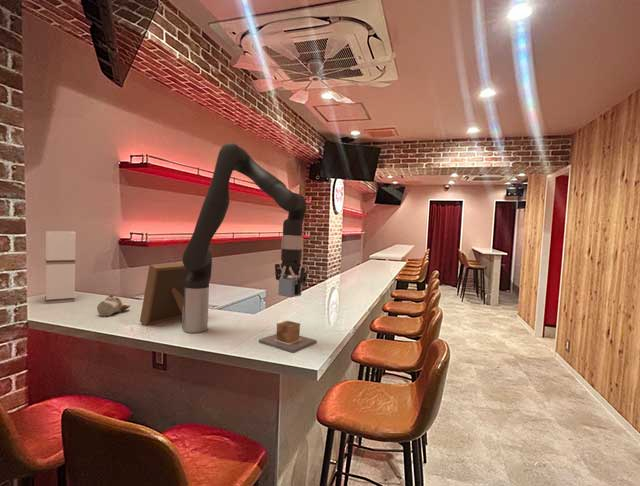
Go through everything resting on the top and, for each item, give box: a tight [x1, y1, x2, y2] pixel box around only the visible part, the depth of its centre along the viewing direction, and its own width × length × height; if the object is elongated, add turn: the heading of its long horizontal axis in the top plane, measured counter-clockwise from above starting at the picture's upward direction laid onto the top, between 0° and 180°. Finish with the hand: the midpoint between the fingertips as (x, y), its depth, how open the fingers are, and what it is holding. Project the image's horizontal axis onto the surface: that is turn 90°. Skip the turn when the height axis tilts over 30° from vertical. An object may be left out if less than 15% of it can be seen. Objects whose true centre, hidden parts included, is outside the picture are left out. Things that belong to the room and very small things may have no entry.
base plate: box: [258, 333, 318, 354], centre depth 127 cm, size 16×14×1 cm
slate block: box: [277, 276, 303, 299], centre depth 127 cm, size 6×6×6 cm
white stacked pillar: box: [44, 230, 77, 305], centre depth 174 cm, size 11×11×35 cm
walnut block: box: [275, 320, 301, 343], centre depth 127 cm, size 6×6×6 cm
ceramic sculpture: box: [96, 294, 131, 317], centre depth 156 cm, size 11×9×15 cm
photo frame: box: [139, 262, 188, 327], centre depth 147 cm, size 15×22×25 cm
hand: (289, 293), depth 127 cm, fingers closed on slate block, 6 cm apart
